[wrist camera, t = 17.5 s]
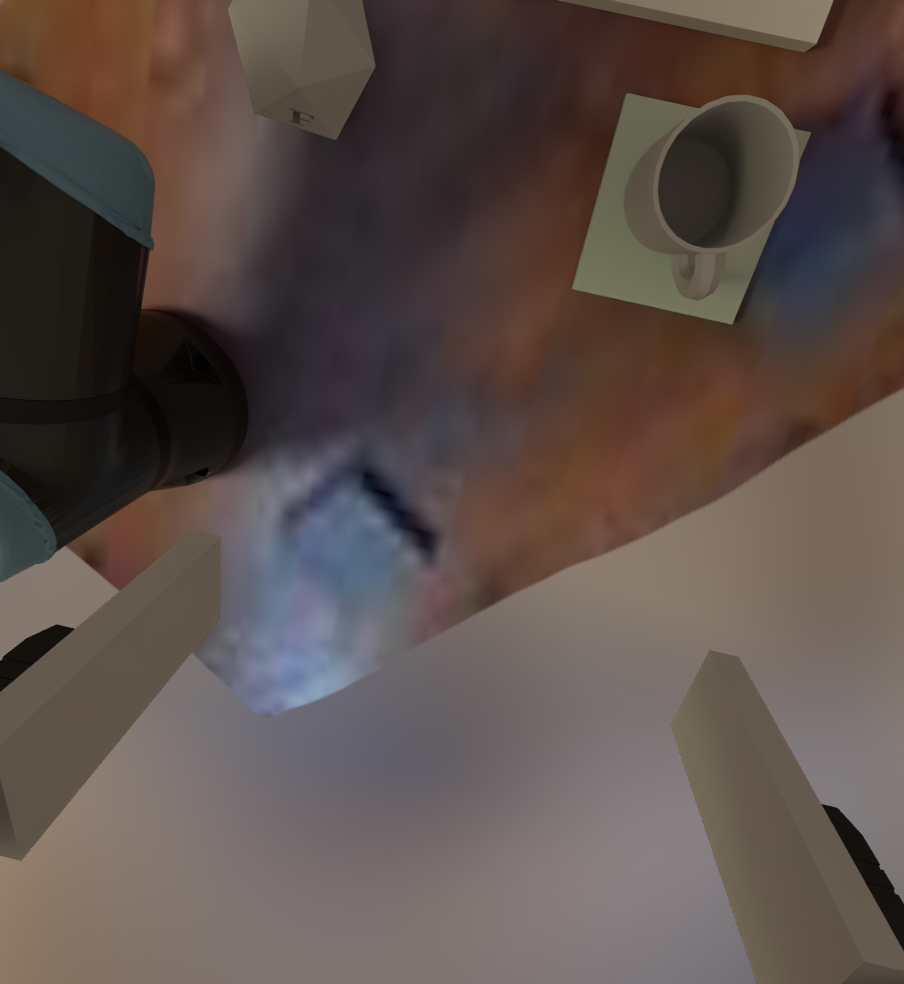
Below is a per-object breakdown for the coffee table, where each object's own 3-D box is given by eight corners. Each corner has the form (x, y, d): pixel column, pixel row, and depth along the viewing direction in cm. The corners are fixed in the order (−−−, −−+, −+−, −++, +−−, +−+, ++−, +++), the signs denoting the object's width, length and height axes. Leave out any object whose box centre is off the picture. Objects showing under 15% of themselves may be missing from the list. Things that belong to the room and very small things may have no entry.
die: (241, 67, 37) (221, 140, 32) (245, -106, 30) (219, -46, 25) (358, 109, 39) (356, 182, 35) (386, -41, 32) (388, 24, 28)
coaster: (571, 288, 39) (572, 288, 39) (624, 96, 34) (626, 92, 34) (728, 323, 39) (732, 324, 38) (804, 135, 34) (811, 132, 33)
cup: (736, 122, 34) (806, 79, 26) (728, 287, 38) (787, 295, 29) (620, 145, 35) (652, 110, 27) (624, 303, 39) (653, 315, 31)
